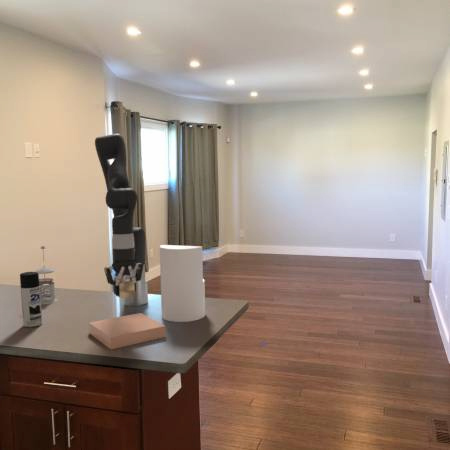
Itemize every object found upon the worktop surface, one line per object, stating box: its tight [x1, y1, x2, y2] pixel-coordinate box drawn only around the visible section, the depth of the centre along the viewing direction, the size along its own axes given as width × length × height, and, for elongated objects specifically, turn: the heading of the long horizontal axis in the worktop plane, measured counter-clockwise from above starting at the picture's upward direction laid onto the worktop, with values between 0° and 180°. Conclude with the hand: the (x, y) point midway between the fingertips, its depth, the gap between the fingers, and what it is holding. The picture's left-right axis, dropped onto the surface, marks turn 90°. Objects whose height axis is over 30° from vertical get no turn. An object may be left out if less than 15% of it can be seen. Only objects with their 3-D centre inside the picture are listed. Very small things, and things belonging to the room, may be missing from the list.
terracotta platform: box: [88, 312, 167, 350], centre depth 178 cm, size 20×20×4 cm
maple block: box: [117, 279, 135, 299], centre depth 176 cm, size 5×5×5 cm
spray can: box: [19, 271, 43, 328], centre depth 190 cm, size 7×7×20 cm
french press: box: [34, 245, 58, 305], centre depth 224 cm, size 10×12×25 cm
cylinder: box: [159, 244, 206, 323], centre depth 199 cm, size 17×17×28 cm
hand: (125, 294), depth 176 cm, fingers closed on maple block, 5 cm apart
